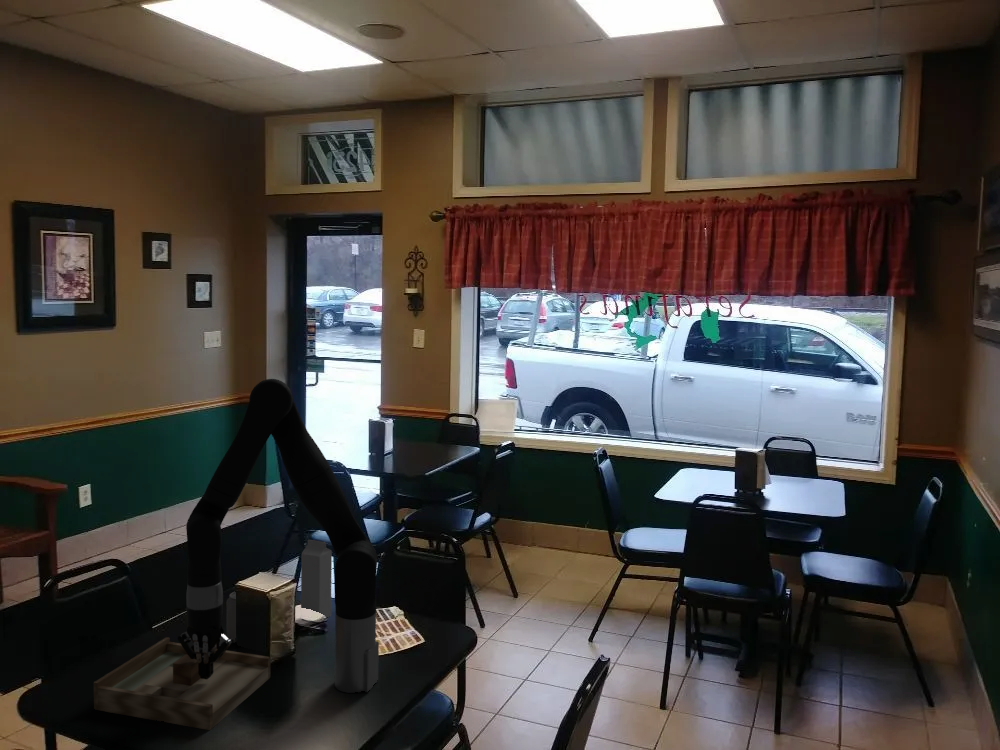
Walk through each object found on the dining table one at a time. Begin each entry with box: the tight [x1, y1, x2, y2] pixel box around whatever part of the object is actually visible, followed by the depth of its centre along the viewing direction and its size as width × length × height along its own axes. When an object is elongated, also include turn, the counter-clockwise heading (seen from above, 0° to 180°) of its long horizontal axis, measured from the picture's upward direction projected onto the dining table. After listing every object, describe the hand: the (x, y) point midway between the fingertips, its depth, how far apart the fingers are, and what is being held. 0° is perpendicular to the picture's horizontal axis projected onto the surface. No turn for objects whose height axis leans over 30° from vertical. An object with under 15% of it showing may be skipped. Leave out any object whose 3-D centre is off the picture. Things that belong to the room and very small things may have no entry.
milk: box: [300, 539, 333, 618], centre depth 222 cm, size 6×6×22 cm
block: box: [173, 655, 201, 686], centre depth 179 cm, size 4×4×4 cm
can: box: [226, 591, 236, 644], centre depth 207 cm, size 8×8×12 cm
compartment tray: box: [93, 636, 271, 731], centre depth 179 cm, size 28×24×6 cm
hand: (205, 677), depth 177 cm, fingers closed
